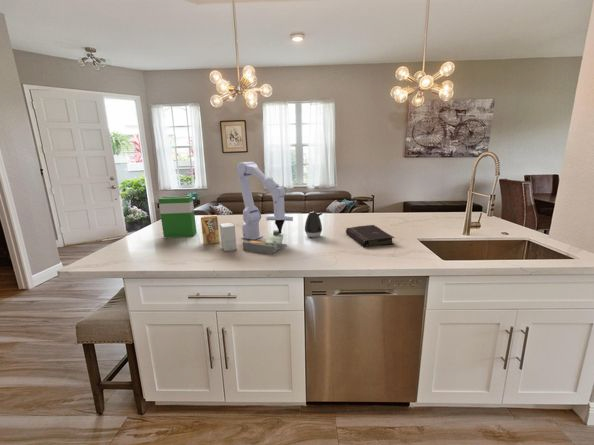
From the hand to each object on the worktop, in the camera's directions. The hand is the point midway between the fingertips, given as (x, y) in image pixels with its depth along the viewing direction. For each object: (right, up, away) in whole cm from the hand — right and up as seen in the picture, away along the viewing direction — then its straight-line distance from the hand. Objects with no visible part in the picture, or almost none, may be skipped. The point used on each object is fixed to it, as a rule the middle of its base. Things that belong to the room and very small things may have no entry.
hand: (280, 233), depth 160 cm
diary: (+50, -4, +5) cm, 51 cm away
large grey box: (-8, -7, -5) cm, 12 cm away
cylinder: (-11, -6, -7) cm, 14 cm away
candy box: (-40, -6, +6) cm, 40 cm away
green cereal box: (-63, -2, +21) cm, 66 cm away
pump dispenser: (+19, -2, +12) cm, 23 cm away
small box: (-27, -8, -5) cm, 29 cm away
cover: (-2, -3, -5) cm, 6 cm away
